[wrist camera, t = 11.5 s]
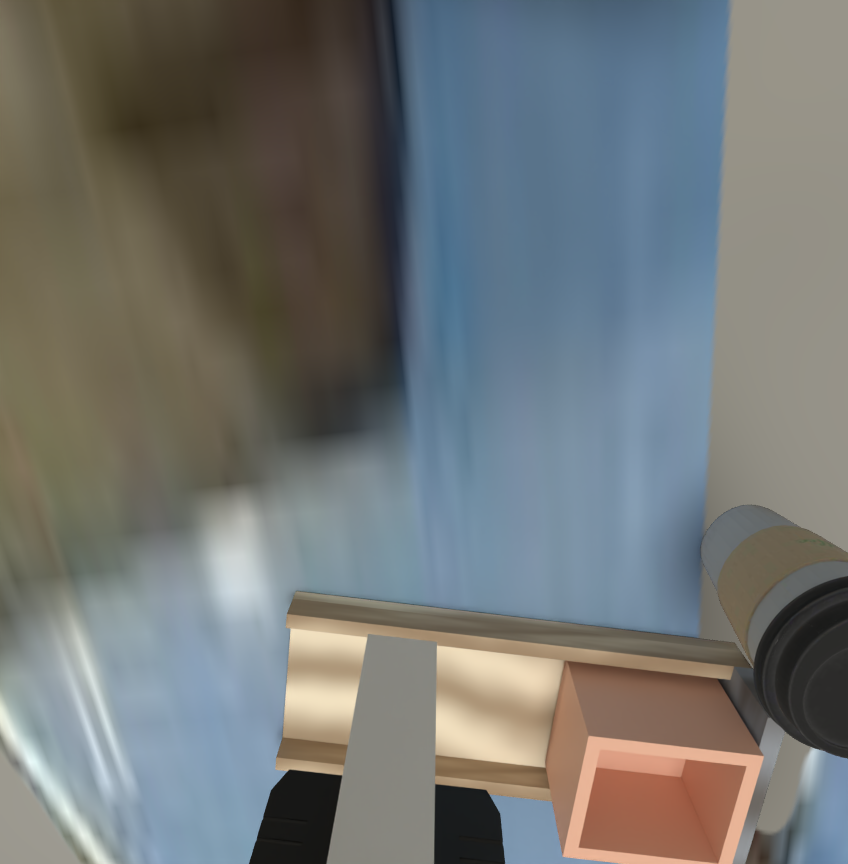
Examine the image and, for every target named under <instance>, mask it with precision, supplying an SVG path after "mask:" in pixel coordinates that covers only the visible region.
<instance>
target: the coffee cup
mask: <svg viewBox="0 0 848 864" xmlns="http://www.w3.org/2000/svg"><path fill="white" fill-rule="evenodd" d="M701 558H702V562H703V565H704V567H705V569H706V571H707V572H708V574H709V576H710V578H711V580H712V582H713V584H714V586H715V588H716V590H717V593H718V597H719V601H720V604H721V606H722V607H723V610H724V611H725V613H726V615H727V617H728V619H729V621H730V623H731V625H732V627H733V629H734V631H735V633H736V635H737V637H738V639H739V641H740V643H741V644H742V647H743V649H744V650H745V653H746V655H747V656H748V658H749V660H750V662H751V663H752V665H753V667H754V669H753V676H754V685H755V689H756V693H757V696H758V698H759V701H760V703H761V705H762V706H763V708H764V710H765V711H766V712H767V714H768V715H769V716H770V717H771V719H772V720H773V721H774V722H775V723H777V724H778V725H779V726H780V727H781V728H782V729H783V730H784V731H785V732H787V733H788V734H789V735H790V736H792V737H793V738H794V739H796V740H798V741H799V742H801V743H803V744H805V745H808V746H810V747H813V748H815V749H819V750H823V751H826V752H828V753H830V754H833V755H836V756H839V757H843V758H848V553H847V552H845V551H844V550H842V549H841V548H839V547H837V546H836V545H834V544H832V543H831V542H829V541H827V540H826V539H824V538H822V537H821V536H819V535H817V534H815V533H813V532H811V531H809V530H807V529H803V528H801V527H799V526H797V525H796V524H794V523H792V522H791V521H789V520H787V519H786V518H784V517H782V516H781V515H779V514H777V513H775V512H774V511H772V510H770V509H768V508H765V507H761V506H756V505H742V506H739V507H735V508H732V509H731V510H729V511H726V512H725V513H723V514H722V515H721V516H719V517H718V518H717V519H716V520H715V521H714V522H713V523H712V524H711V526H710V527H709V529H708V530H707V532H706V534H705V536H704V538H703V540H702V544H701Z"/></svg>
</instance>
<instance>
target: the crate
mask: <svg viewBox="0 0 848 864" xmlns="http://www.w3.org/2000/svg"><path fill="white" fill-rule="evenodd" d="M763 758H764V755H763V753H762V752H761V750H760V749H759V747H758V745H757V744H756V742H755V740H754V739H753V737H752V735H751V734H750V732H749V730H748V729H747V727H746V725H745V724H744V722H743V721H742V719H741V717H740V716H739V714H738V712H737V711H736V709H735V707H734V706H733V704H732V702H731V701H730V699H729V697H728V696H727V694H726V692H725V691H724V689H723V688H722V686H721V684H720V683H719V681H718V679H717V678H710V677H702V676H693V675H684V674H676V673H667V672H659V671H650V670H642V669H633V668H625V667H616V666H608V665H599V664H590V663H582V662H573V661H565V664H564V669H563V674H562V679H561V684H560V689H559V694H558V699H557V704H556V709H555V715H554V720H553V725H552V730H551V735H550V740H549V745H548V750H547V755H546V760H545V766H546V772H547V777H548V782H549V787H550V793H551V798H552V803H553V808H554V813H555V819H556V824H557V829H558V834H559V840H560V845H561V850H562V855H563V857H569V858H578V859H587V860H595V861H604V862H613V863H622V864H732V863H733V859H734V856H735V853H736V849H737V846H738V843H739V839H740V836H741V832H742V829H743V826H744V822H745V819H746V816H747V812H748V809H749V806H750V802H751V799H752V795H753V792H754V789H755V785H756V782H757V779H758V775H759V772H760V768H761V765H762V762H763Z"/></svg>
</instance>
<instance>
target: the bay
mask: <svg viewBox="0 0 848 864" xmlns="http://www.w3.org/2000/svg"><path fill="white" fill-rule="evenodd" d="M286 628H291V633H290V646H289V659H288V673H287V686H286V699H285V712H284V726H283V738H282V741H281V744H280V747H279V751H278V754H277V757H276V770H283V771H288V770H289V769H291V770H300V771H309V772H317V773H326V774H335V775H343V770H344V764H345V759H346V753H347V748H348V742H349V737H350V731H351V726H352V720H353V715H354V709H355V703H356V698H357V692H358V687H359V681H360V676H361V670H362V665H363V659H364V654H365V648H366V643H367V637H368V634H373V635H382V636H390V637H399V638H408V639H416V640H425V641H434V642H437V675H436V749H435V784H440V785H449V786H458V787H466V788H475V789H484V790H487V792H488V793H489V794H492V795H501V796H509V797H518V798H527V799H535V800H544V801H552V798H551V793H550V787H549V782H548V777H547V772H546V766H545V760H546V755H547V750H548V745H549V740H550V735H551V730H552V725H553V720H554V715H555V709H556V704H557V699H558V694H559V689H560V684H561V679H562V674H563V669H564V664H565V661H573V662H582V663H590V664H599V665H608V666H616V667H625V668H633V669H642V670H650V671H659V672H667V673H676V674H684V675H693V676H702V677H710V678H717V679H718V681H719V683H720V684H721V686H722V688H723V689H724V691H725V692H726V694H727V696H728V697H729V699H730V701H731V702H732V704H733V706H734V707H735V709H736V711H737V712H738V714H739V716H740V717H741V719H742V721H743V722H744V724H745V725H746V727H747V729H748V730H749V732H750V734H751V735H752V737H753V739H754V740H755V742H756V744H757V745H758V747H759V749H760V750H761V752H762V753H763V755H764V758H763V762H762V765H761V768H760V772H759V775H758V779H757V782H756V785H755V789H754V792H753V795H752V799H751V802H750V806H749V809H748V812H747V816H746V819H745V822H744V826H743V829H742V832H741V836H740V839H739V843H738V846H737V849H736V853H735V856H734V859H733V863H732V864H745V862H746V859H747V855H748V852H749V849H750V845H751V842H752V839H753V835H754V832H755V829H756V826H757V822H758V819H759V816H760V812H761V809H762V806H763V803H764V799H765V796H766V793H767V789H768V786H769V782H770V779H771V776H772V773H773V770H774V766H775V763H776V759H777V756H778V753H779V750H780V746H781V743H782V740H783V736H784V733H785V731H784V730H783V729H782V728H781V727H780V726H779V725H778V724H777V723H775V722H774V721H773V720H772V719H771V717H770V716H769V715H768V714H767V712H766V711H765V710H764V708H763V706H762V705H761V703H760V701H759V698H758V696H757V693H756V689H755V685H754V676H753V668H752V667H751V666H750V664H749V663H748V661H747V660H746V659H745V657H744V656H743V654H742V653H741V651H740V650H739V648H738V647H737V646H736V644H735V643H733V642H724V641H715V640H707V639H699V638H691V637H682V636H674V635H665V634H657V633H648V632H640V631H631V630H623V629H614V628H605V627H597V626H588V625H580V624H571V623H563V622H554V621H546V620H537V619H529V618H520V617H512V616H503V615H495V614H486V613H478V612H469V611H461V610H452V609H444V608H435V607H427V606H418V605H410V604H401V603H393V602H384V601H376V600H367V599H359V598H350V597H342V596H333V595H325V594H316V593H308V592H299V591H296V592H295V595H294V597H293V600H292V602H291V605H290V608H289V610H288V613H287V620H286Z"/></svg>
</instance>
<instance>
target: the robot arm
mask: <svg viewBox="0 0 848 864" xmlns="http://www.w3.org/2000/svg"><path fill="white" fill-rule="evenodd" d="M436 675H437V642H434V641H425V640H416V639H408V638H399V637H390V636H382V635H373V634H368V637H367V643H366V648H365V654H364V659H363V665H362V670H361V676H360V681H359V687H358V692H357V698H356V703H355V709H354V715H353V720H352V726H351V731H350V737H349V742H348V748H347V753H346V759H345V764H344V770H343V775H335V774H326V773H317V772H309V771H300V770H291V769H289V770H288V772H287V773H286V774H285V775H284V776H283V777H282V778H281V780H280V781H279V782H278V783H277V784H276V785H275V786H274V787H273V789H272V790H271V793H270V796H269V799H268V803H267V806H266V809H265V813H264V817H263V820H262V823H261V826H260V829H259V832H258V836H257V841H256V842H255V846H254V849H253V852H252V856H251V859H250V862H249V864H505V858H504V848H503V844H502V843H503V838H502V828H501V817H500V813H499V811H498V809H497V807H496V806H495V804H494V802H493V800H492V799H491V797H490V795H489V793H488V792H487V790H484V789H475V788H466V787H458V786H449V785H440V784H435V749H436Z"/></svg>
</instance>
